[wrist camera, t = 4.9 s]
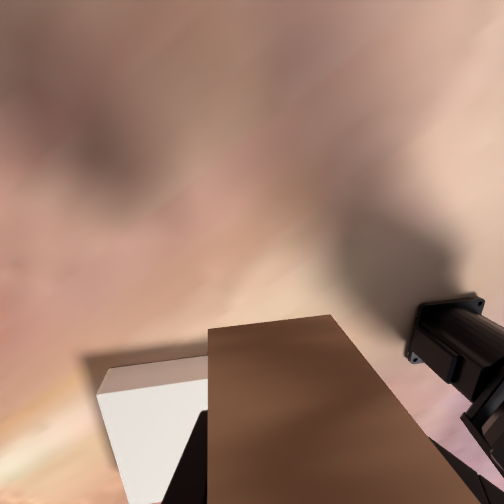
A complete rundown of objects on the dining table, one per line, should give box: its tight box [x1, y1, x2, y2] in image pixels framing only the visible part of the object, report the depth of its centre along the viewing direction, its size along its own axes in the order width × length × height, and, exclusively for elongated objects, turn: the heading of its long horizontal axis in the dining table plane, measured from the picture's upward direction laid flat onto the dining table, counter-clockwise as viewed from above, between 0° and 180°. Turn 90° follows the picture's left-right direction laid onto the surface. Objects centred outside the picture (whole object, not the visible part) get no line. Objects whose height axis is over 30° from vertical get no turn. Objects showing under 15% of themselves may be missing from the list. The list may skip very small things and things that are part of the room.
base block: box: [96, 355, 208, 504], centre depth 23 cm, size 14×13×2 cm
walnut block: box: [207, 315, 481, 504], centre depth 7 cm, size 4×4×7 cm
